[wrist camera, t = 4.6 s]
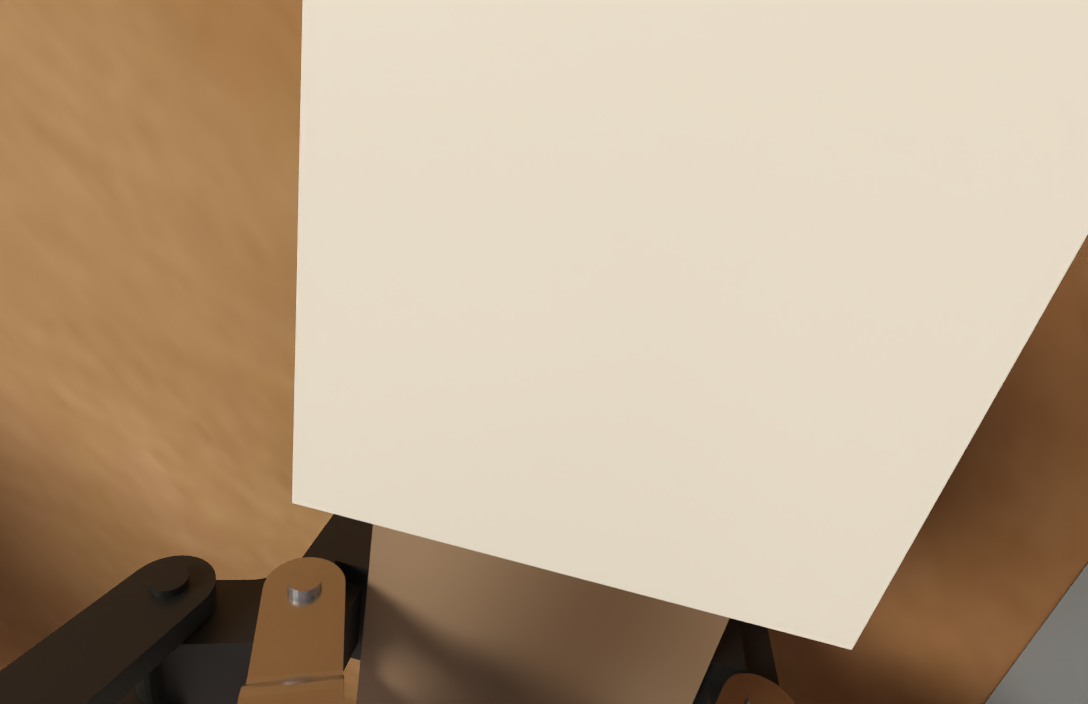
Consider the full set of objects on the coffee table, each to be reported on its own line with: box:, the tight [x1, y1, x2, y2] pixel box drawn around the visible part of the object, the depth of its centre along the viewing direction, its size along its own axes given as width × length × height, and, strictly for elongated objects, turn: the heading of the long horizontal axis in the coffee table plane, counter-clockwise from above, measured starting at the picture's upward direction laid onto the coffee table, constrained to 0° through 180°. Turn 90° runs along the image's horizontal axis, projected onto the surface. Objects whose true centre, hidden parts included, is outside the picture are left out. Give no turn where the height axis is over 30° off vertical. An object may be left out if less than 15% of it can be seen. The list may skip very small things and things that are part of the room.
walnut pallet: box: [357, 524, 729, 704], centre depth 13 cm, size 6×22×4 cm, turn 169°
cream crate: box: [292, 0, 1088, 650], centre depth 5 cm, size 4×4×4 cm
